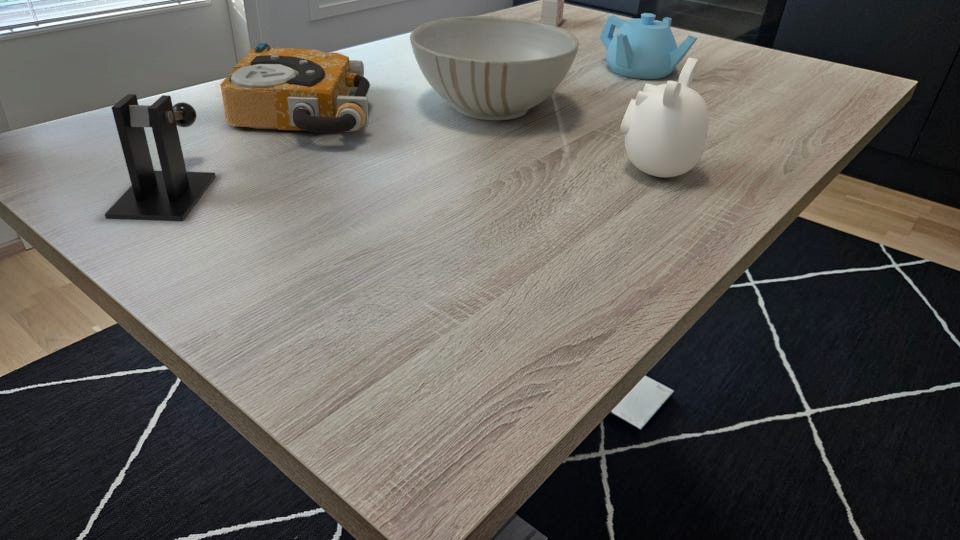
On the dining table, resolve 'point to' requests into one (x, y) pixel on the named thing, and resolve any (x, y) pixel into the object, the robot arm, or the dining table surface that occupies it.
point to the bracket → (153, 190)
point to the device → (296, 91)
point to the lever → (182, 112)
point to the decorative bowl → (493, 62)
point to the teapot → (643, 46)
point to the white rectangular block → (552, 12)
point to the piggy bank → (666, 126)
